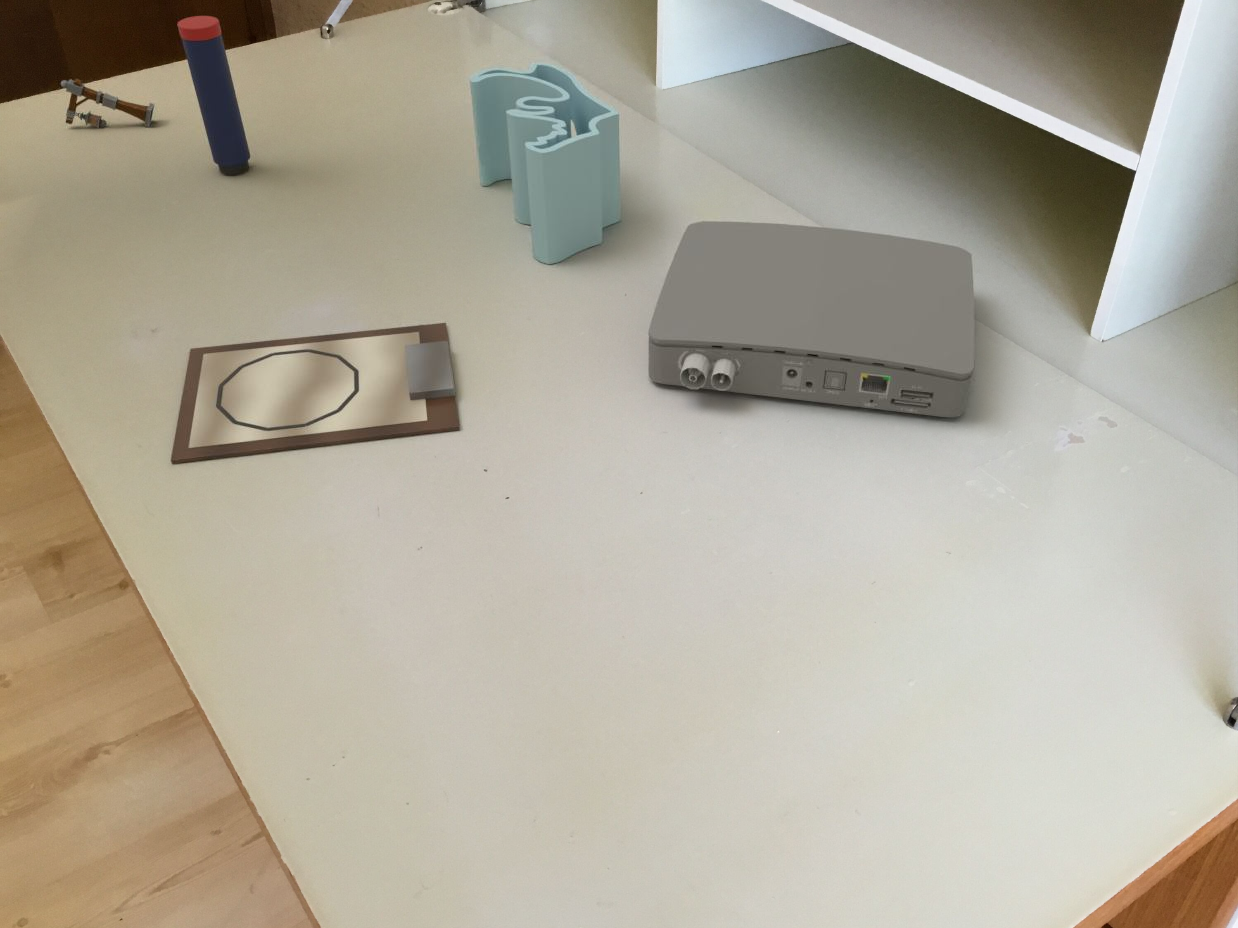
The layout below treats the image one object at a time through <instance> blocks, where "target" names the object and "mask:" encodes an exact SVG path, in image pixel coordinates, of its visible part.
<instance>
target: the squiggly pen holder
mask: <svg viewBox="0 0 1238 928" xmlns="http://www.w3.org/2000/svg"><path fill="white" fill-rule="evenodd" d="M469 87H470V97H471V106H472V116H473V122H474V123H473V125H474V135H475V145H476V153H477V155H476V156H477V164H478V174H479V183H480V186H481V187H488V186H491V185H492V184H494V183H495V182H500V181H503V180H511V185H512V186H511V187H512V199H513V211H514V220H515V221H516V222H518V223H520V224H523V225H528V226H530V227H531V228H530V232H531V244H532V255H533V258H534V259H535V260H536V261H538V262H540V263H543V264H547V265H553V264H558V263H560V262H563V261H564V260H566V259H568V258H569V257H572V256H573V255H575V254H577V253H579V252H581V251H584V250H586V249H589V248H591V247H595V246H599V245H601V244H603V229H604V228H607V227H608V226H611V225H614V224H617V223H619V222H621V220H622V216H621V215H622V213H621V211H622V209H621V163H620V162H621V161H620V159H621V157H620V156H621V152H620V112H619V110H617V109H616V108H614V107H612V106H611V105H609V104H607V103H606V102H603V101H602V100H600V99H599V98H598V97H595V96H594V95H593V94H592V93H590V92H589V91H587V90H586V88H585V87H584V86H583V85H582V84H581V82H580V81H579V79H578V77H576V76H575V75H574V74H573V73H571V72H569V71H568V70H566V69H564V68H563V67H560V66H558V65H555V64H552V63H549V62H543V61H542V62H541V61H536V62H532V63H530V65H529V67H528V69H527V70H519V69H518V70H517V69H512V68H507V67H502V66H501V67H499V66H496V67H495V66H494V67H488V68H483V69H480V70H478V71H476V72H475V73H473V74H471V76H469ZM572 123H573V127H574V130H575V133H576V135H574V136H572Z"/></svg>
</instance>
